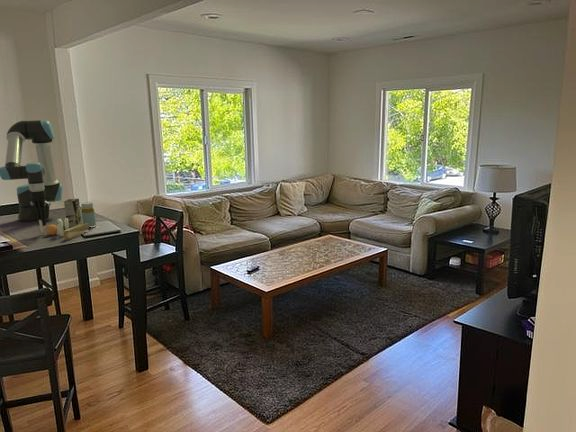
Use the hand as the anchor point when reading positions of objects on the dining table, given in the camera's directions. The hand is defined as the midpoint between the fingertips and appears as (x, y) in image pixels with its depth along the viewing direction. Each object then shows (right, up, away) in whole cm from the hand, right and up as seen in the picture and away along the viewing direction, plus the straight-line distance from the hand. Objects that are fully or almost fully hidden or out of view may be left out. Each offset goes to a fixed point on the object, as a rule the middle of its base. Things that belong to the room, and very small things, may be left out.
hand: (43, 230), depth 250 cm
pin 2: (+14, -2, +1) cm, 14 cm away
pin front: (+9, -2, -1) cm, 9 cm away
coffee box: (+8, +3, +21) cm, 23 cm away
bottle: (+20, +2, +15) cm, 25 cm away
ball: (+5, +1, -1) cm, 6 cm away
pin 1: (+13, -3, -4) cm, 14 cm away
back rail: (+21, -2, -3) cm, 21 cm away
